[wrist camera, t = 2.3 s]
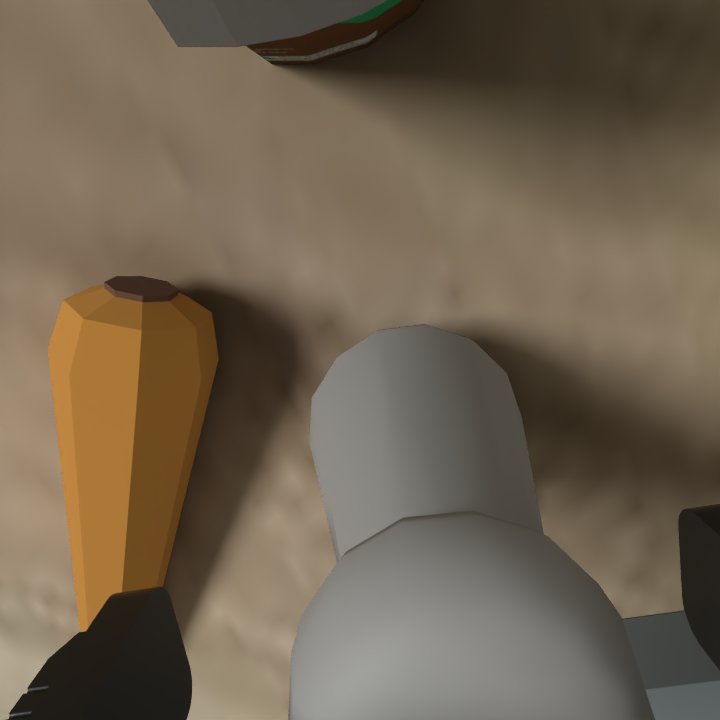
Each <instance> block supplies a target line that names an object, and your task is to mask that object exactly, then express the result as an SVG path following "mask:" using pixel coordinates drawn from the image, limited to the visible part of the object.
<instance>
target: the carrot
mask: <svg viewBox="0 0 720 720" xmlns="http://www.w3.org/2000/svg"><path fill="white" fill-rule="evenodd" d="M48 357H49V366H50V374H51V383H52V392H53V400H54V409H55V418H56V426H57V435H58V444H59V452H60V461H61V470H62V478H63V487H64V496H65V504H66V513H67V522H68V530H69V539H70V548H71V556H72V565H73V574H74V582H75V591H76V600H77V608H78V617H79V626H80V632H84V631H86V630H87V629H88V627H89V626H90V624H91V623H92V622H93V620H94V619H95V617H96V616H97V614H98V613H99V611H100V610H101V608H102V607H103V605H104V604H105V602H106V601H107V599H108V598H109V597H110V596H111V595H112V594H115V593H120V592H127V591H134V590H140V589H147V588H154V587H163V585H164V581H165V576H166V572H167V568H168V564H169V560H170V556H171V552H172V548H173V544H174V540H175V536H176V532H177V527H178V523H179V519H180V515H181V511H182V507H183V503H184V499H185V495H186V491H187V487H188V483H189V478H190V474H191V470H192V466H193V462H194V458H195V454H196V450H197V446H198V442H199V438H200V433H201V429H202V425H203V421H204V417H205V413H206V409H207V405H208V401H209V397H210V393H211V389H212V384H213V380H214V376H215V372H216V368H217V364H218V360H219V356H218V350H217V343H216V337H215V330H214V323H213V317H212V312H210V311H209V310H207V309H206V308H204V307H203V306H201V305H200V304H198V303H197V302H195V301H194V300H192V299H191V298H189V297H188V296H185V295H183V294H181V293H179V289H178V288H176V287H175V286H173V285H172V284H170V283H169V282H167V281H162V280H158V279H153V278H148V277H143V276H116V277H114V278H112V279H110V280H108V281H106V282H104V285H100V286H95V287H91V288H88V289H86V290H84V291H82V292H80V293H78V294H75V295H73V296H71V297H69V298H67V299H65V300H63V303H62V306H61V309H60V312H59V316H58V319H57V322H56V325H55V328H54V331H53V334H52V337H51V340H50V343H49V346H48Z"/></svg>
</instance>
